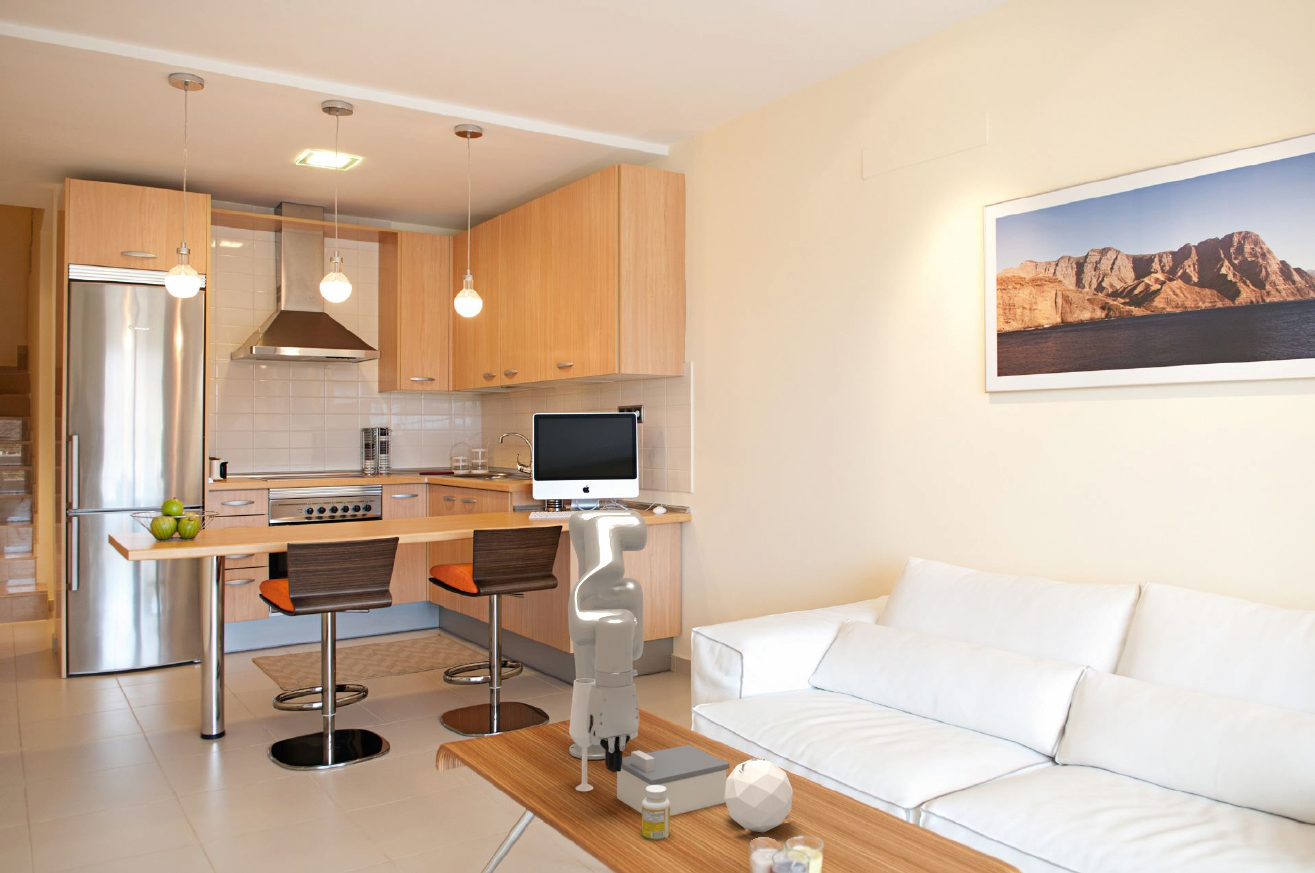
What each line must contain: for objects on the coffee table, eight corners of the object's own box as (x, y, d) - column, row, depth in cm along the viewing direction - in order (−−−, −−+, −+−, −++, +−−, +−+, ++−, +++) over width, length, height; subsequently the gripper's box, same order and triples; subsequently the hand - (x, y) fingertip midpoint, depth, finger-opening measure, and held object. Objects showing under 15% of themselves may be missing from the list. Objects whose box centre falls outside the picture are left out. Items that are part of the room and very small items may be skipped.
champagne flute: (576, 785, 205) (577, 676, 206) (604, 789, 203) (605, 678, 204) (563, 795, 199) (564, 683, 200) (592, 799, 197) (592, 685, 197)
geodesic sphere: (754, 822, 170) (780, 752, 176) (697, 803, 179) (724, 737, 186) (790, 851, 178) (814, 783, 184) (734, 831, 187) (759, 767, 194)
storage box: (617, 802, 195) (617, 765, 195) (688, 786, 205) (688, 751, 205) (652, 825, 183) (652, 785, 183) (726, 806, 193) (726, 769, 193)
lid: (613, 764, 195) (614, 747, 195) (688, 749, 205) (688, 733, 206) (651, 785, 183) (651, 767, 183) (729, 768, 193) (729, 751, 193)
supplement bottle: (657, 847, 173) (657, 795, 173) (635, 839, 176) (635, 788, 176) (675, 838, 177) (675, 787, 177) (654, 831, 180) (654, 781, 180)
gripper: (636, 670, 194) (636, 758, 194) (572, 679, 186) (571, 771, 186) (655, 677, 188) (655, 768, 187) (589, 686, 180) (589, 782, 180)
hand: (613, 769), depth 187 cm, fingers closed
